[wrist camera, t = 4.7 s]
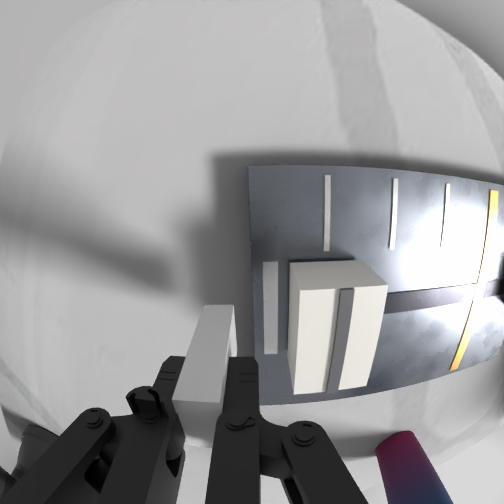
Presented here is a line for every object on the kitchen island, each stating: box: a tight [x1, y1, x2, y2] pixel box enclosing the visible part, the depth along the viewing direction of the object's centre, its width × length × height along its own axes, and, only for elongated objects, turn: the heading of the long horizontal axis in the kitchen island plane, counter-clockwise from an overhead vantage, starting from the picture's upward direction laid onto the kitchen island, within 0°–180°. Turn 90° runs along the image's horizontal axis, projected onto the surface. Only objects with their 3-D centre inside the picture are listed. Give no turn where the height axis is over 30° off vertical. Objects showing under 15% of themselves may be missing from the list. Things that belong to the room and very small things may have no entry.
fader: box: [287, 260, 388, 395], centre depth 14 cm, size 4×6×4 cm, turn 2°
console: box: [248, 165, 504, 405], centre depth 15 cm, size 24×16×5 cm, turn 92°
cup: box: [376, 431, 453, 504], centre depth 16 cm, size 7×7×15 cm
